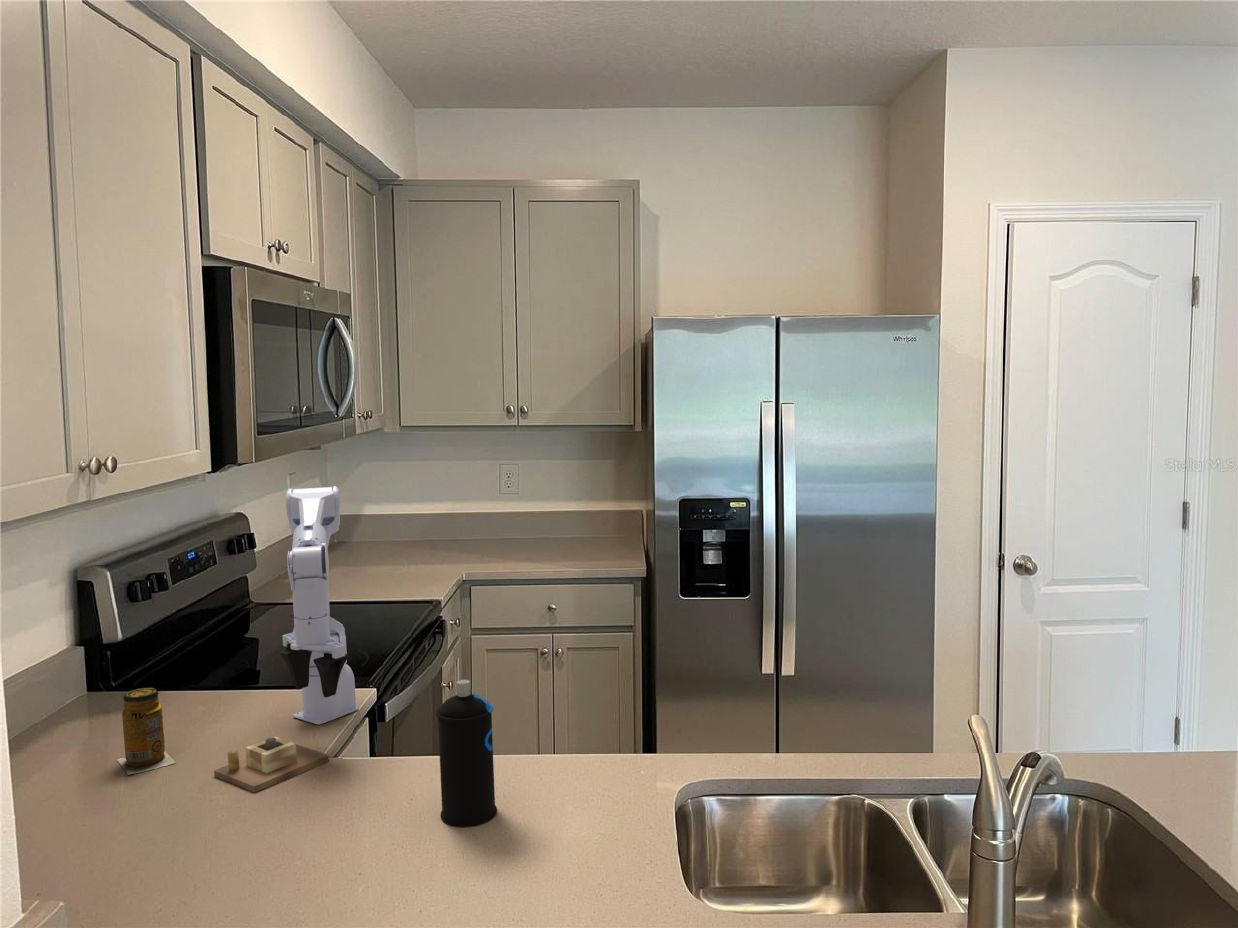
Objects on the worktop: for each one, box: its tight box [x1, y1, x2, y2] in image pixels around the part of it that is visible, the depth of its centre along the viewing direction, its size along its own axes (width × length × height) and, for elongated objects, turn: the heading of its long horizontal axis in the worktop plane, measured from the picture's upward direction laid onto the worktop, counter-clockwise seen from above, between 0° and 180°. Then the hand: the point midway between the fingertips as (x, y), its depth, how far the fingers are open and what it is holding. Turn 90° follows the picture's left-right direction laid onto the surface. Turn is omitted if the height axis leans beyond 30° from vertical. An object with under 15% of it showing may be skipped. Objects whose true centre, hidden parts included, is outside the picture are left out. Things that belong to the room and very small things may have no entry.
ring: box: [244, 736, 297, 773], centre depth 155 cm, size 6×6×3 cm
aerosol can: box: [435, 679, 498, 828], centre depth 137 cm, size 8×8×20 cm
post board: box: [213, 736, 330, 794], centre depth 155 cm, size 14×11×5 cm
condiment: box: [116, 687, 176, 775], centre depth 158 cm, size 7×8×12 cm
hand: (315, 691), depth 163 cm, fingers open, 7 cm apart
